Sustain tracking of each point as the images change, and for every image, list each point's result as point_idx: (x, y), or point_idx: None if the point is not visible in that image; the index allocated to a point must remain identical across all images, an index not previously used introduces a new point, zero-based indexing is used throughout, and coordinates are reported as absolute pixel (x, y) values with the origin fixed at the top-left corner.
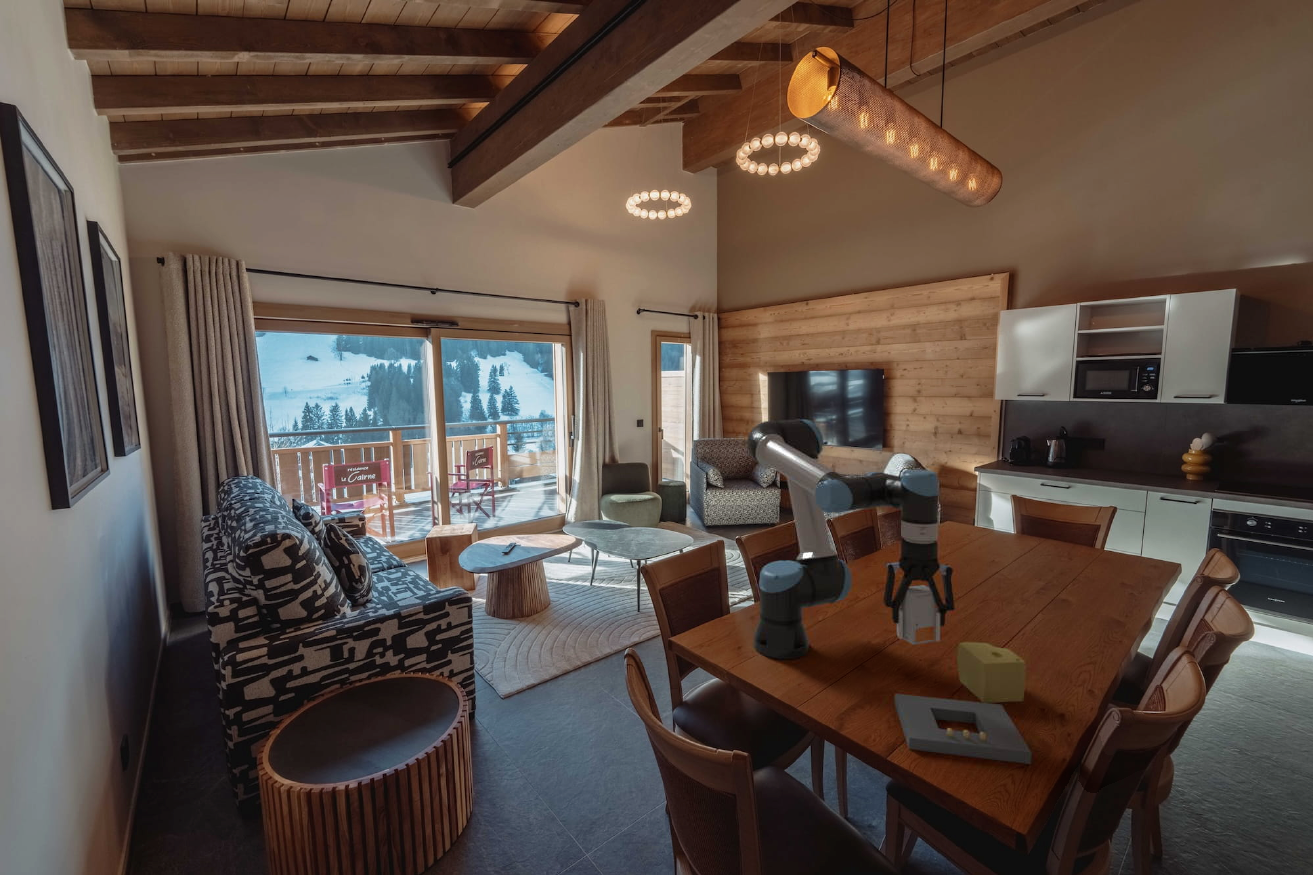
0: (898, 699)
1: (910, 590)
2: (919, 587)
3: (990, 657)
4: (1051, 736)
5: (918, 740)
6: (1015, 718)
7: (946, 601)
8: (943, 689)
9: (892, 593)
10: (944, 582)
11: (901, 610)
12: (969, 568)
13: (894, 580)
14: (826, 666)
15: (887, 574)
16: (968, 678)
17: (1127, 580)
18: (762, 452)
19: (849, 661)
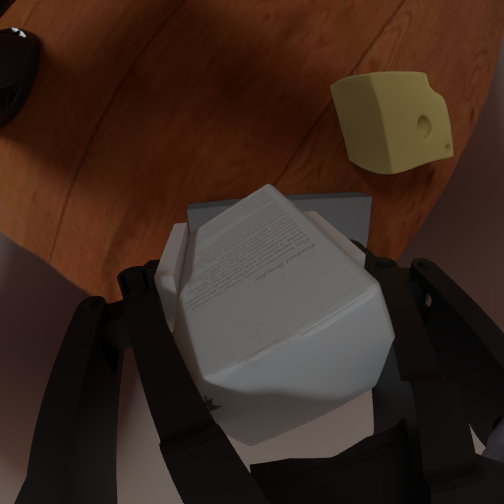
0: (192, 229)
1: (231, 423)
2: (319, 361)
3: (411, 143)
4: (400, 229)
5: None
6: (378, 195)
7: (422, 283)
8: (292, 123)
9: (117, 404)
10: (472, 387)
11: None
12: None
13: (116, 484)
14: (65, 109)
15: (31, 456)
16: (347, 115)
17: None
18: None
19: (108, 66)
